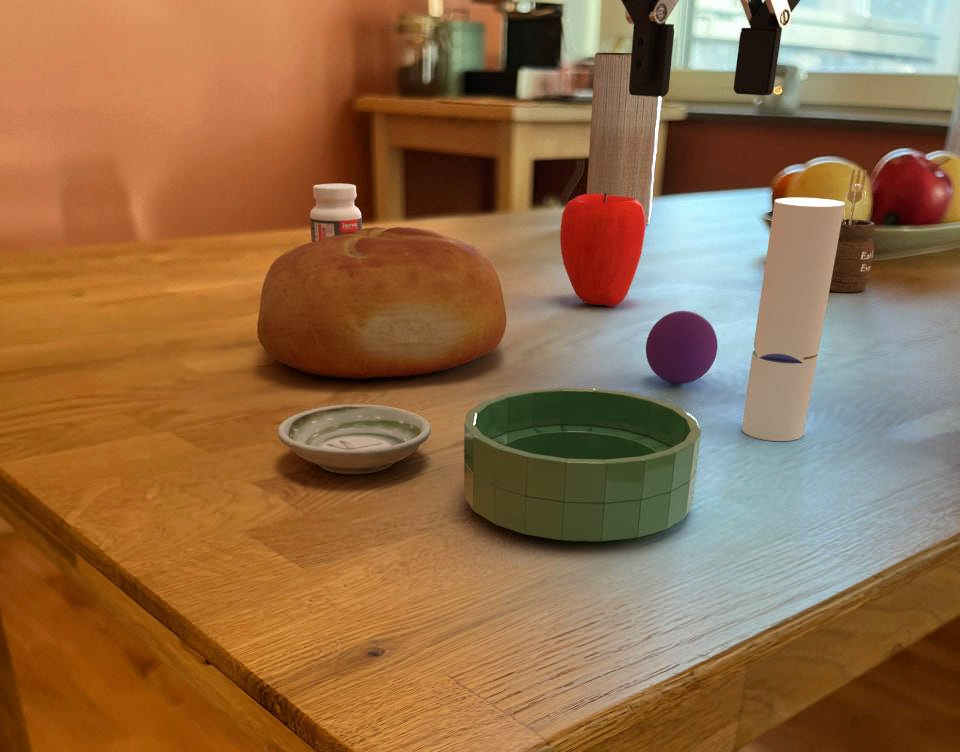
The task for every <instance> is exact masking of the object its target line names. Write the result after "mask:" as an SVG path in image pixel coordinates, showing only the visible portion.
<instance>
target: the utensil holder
mask: <svg viewBox="0 0 960 752" xmlns="http://www.w3.org/2000/svg"><path fill="white" fill-rule="evenodd" d="M861 172H862V170H861V169H858V170H857V175H856V180H855V173H856V170H855V169H852V170H851V175H850V181H849V185H848V187H847V188H846V190H845V191H844V193H843V195H842V200H841V202H843V203H845V205H844V211H843V218H842V222H841V228H840V233H839V239H838V244H837V250H836V256H835V261H834V267H833V273H832V278H831V284H830V290H829V292H831V293H832V292H834V293H858V292H862V291H864V290H865V289H866V288H867V285H868V281H869V277H870V274H871V273H870V272H871V269H872V268H871V267H872V262H873V257H874V250H875V245H874V244H875V243H874V241H873V240H872V239H871V237H873V236H874V234H875V223H874V222H873V221H869V220H864V219H861V216H862V214H863V212H864V210H865V207H862V204H864V205H863V206H865V205H866V202H864V203H863V197H864V193H865V197H864V200H866V199H867V192H866V189H865V183H866V177H867V173H868V171H867V169H864V170H863V173H862V179H861V184H860V178H861ZM854 180H855V183H854ZM853 188H854V190H853ZM859 188H860V190H859ZM845 195H846V196H845ZM844 198H845V201H844ZM847 200H848V201H849V202H850V203H851V208H850V214H849V218H846V204H847ZM858 202H860V206H859V209H858V211H857V215H856V217H855V219H854V213H855V207H856V204H857V203H858ZM861 209H862V212H861ZM859 215H860V216H859Z"/></svg>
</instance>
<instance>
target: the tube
mask: <svg viewBox="0 0 960 752" xmlns="http://www.w3.org/2000/svg"><path fill="white" fill-rule="evenodd" d="M845 206H846V205H845V202H844V201H843V202H842V200H841V201H840V200H836V199H828V198H818V197H781V198H780V197H779V198H776V199H774V203H773V208H772V209H773V210H772V217H771V223H770V229H769V237H768V242H767V243H768V244H767V251H766V258H765V265H764V272H763V279H762V285H761V286H762V287H761V292H760V299H759V306H758V312H757V318H756V327H755V332H754V338H753V339H754V340H753V348H754V350H753V351H752V354H751V360H750V367H749V374H748V380H747V387H746V394H745V401H744V409H743V414H742V422H741V431H742V432H743V433H744V434H745V435H747V436H749V437H752V438H755V439H758V440H763V441H771V442H790V441H791V442H792V441H796V440H798V439H801V438H803V436H804V434H805V429H806V423H807V419H808V412H809V406H810V402H811V401H810V400H811V396H812V390H813V384H814V378H815V373H816V368H817V367H816V366H817V361H818V356H819V351H820V344H821V339H822V334H823V328H824V322H825V317H826V311H827V306H828V300H829V296H830V295H829V294H830V291H829V290H830V284H831V278H832V273H833V267H834V261H835V256H836V250H837V244H838V239H839V233H840V228H841V222H842V219H843V217H844V207H845Z"/></svg>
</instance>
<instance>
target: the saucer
mask: <svg viewBox="0 0 960 752" xmlns="http://www.w3.org/2000/svg"><path fill="white" fill-rule="evenodd" d="M431 432H432V427H431V424H430V422H429V421H428V420H427V419H426V418H425V417H423V416H422V415H420V414H417V413H415V412H413V411H410V410H407V409H403V408H399V407H394V406H388V405H380V404H365V403H351V404H349V403H347V404H337V405H330V406H321V407H317V408H312V409H308V410H304V411H302V412H298V413H296V414H294V415H292V416H290V417H288V418H286V419H285V420H283V421H282V422H281V423H280V424H279V425H278V427H277V437H278V440H279V441H280V443H282V444H283V445H284V446H286V447H287V448H289V449H290V450H291V451H292V452H293V453H295V454H296V455H297V456H298V457H300V458H302V459H304V460H306V461H307V462H310V463H313V464H317V465H318V466H319V467H320V468H321V469H323V470H325V471H327V472H331V473H333V474H340V475H341V474H343V475H366V474H372V473H373V474H374V473H377V472H378V473H379V472H381V471H384V470H387V469H388V468H390V467H392V466H393V465H395V463H396V462H399V461H401V460H403V459H406V458H407V457H409V456H410V455H412V454H413V453H415V451H416V450H417V449H418V448H420V447H421V445H422V444H424V443H425V442H426V441H428V439H429V438H430V436H431Z"/></svg>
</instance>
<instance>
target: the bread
mask: <svg viewBox="0 0 960 752" xmlns="http://www.w3.org/2000/svg"><path fill="white" fill-rule="evenodd" d="M256 326H257V327H256V331H257V339H258V341H259V343H260V345H261V346H262V348H263V349H264V351H266V352H267V353H268V354H269V355H270V356H271V357H272V358H274V360H276V361H277V362H279V363H281V364H284V365H286V366H288V367H290V368H293V369H297V370H299V371H302V372H304V373H308V374H311V375H315V376H323V377H331V378H346V379H370V378H394V377H395V378H397V377H408V376H420V375H426V374H431V373H436V372H441V371H445V370H448V369H451V368H454V367H458V366H461V365H464V364H466V363H469V362H472V361H474V360H476V359H478V358H480V357H483V356H485V355H487V354H488V353H490V352H492V351H493V350H495V349H496V348H497V347H498V345H499V344H500V343H501V341H502V339H503V338H504V335H505V333H506V327H507V312H506V305H505V300H504V292H503V288H502V285H501V281H500V278H499V276H498V273H497V271H496V268H495V267H494V265H493V263H492V262H491V260H490V259H489V257H488V256H487V255H486V254H485V253H484V252H483V251H482V250H481V249H480V248H478V246H475V245H473V244H470V243H468V242H465V241H463V240H460V239H456V238H454V237H451V236H447V235H444V234H441V233H438V232H436V231H434V230H430V229H424V228H419V227H417V228H416V227H410V226H408V227H407V226H406V227H405V226H404V227H403V226H402V227H401V226H396V227H395V226H394V227H389V228H385V227H378V226H373V227H366V228H365V227H364V228H362V230H359V231H357V232H355V233H353V234H352V233H349V234H341V235H336V236H331V237H328V238H325V239H321V240H318V241H315V242H312V241H311V242H308V243H305V244H302V245H298V246H295V247H293V248H291V249H290V250H287V251H285V252H284V253H283V254H281V255H279V256H278V257H277V258H275V260H274V261H273V262H272V263H271V264H270V267H269V269H268V270H267V273H266V275H265V278H264V280H263V283H262V289H261V294H260V302H259V313H258V316H257V323H256Z"/></svg>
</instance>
